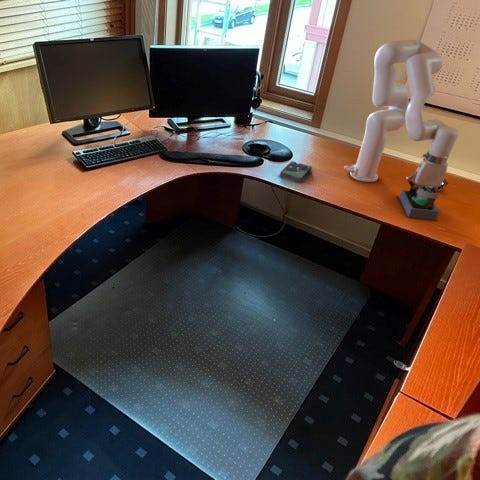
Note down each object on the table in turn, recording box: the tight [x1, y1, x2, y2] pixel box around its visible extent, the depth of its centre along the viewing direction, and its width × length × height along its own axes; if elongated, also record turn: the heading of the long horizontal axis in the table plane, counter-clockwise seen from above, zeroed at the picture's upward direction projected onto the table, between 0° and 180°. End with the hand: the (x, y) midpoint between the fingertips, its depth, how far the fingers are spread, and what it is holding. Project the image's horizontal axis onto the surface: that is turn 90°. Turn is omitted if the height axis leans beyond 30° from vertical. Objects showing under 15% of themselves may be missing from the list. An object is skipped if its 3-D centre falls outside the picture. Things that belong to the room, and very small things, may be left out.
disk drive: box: [279, 160, 313, 183], centre depth 221 cm, size 10×3×15 cm
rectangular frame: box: [398, 189, 440, 221], centre depth 198 cm, size 11×17×4 cm, turn 169°
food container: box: [410, 185, 439, 210], centre depth 196 cm, size 12×6×10 cm, turn 5°
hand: (420, 196), depth 196 cm, fingers closed on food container, 6 cm apart
